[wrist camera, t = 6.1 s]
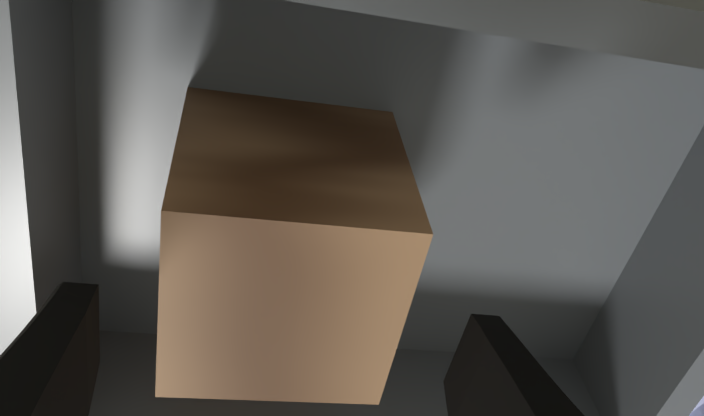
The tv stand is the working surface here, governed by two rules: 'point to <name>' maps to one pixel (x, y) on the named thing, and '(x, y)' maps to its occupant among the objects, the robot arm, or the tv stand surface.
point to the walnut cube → (285, 251)
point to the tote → (426, 163)
